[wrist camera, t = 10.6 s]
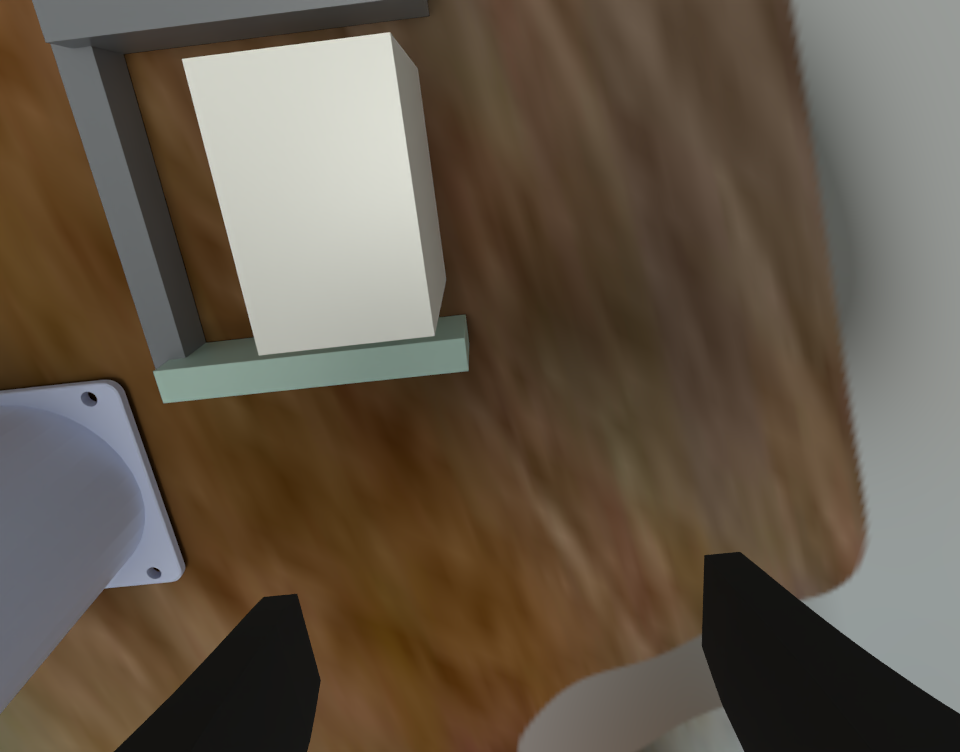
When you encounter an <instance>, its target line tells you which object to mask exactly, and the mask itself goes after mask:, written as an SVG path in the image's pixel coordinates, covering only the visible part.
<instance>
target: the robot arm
mask: <svg viewBox="0 0 960 752" xmlns="http://www.w3.org/2000/svg"><path fill="white" fill-rule="evenodd" d="M88 392H91V393H93V394H94V395H95V396H96V397H97V402H96V401H93V400H92V399H90V397H89V396H88ZM153 567H154V568H157V569H159V570H160V572H158V571H156V570H154V569H153ZM184 571H185V563H184V560H183V558H182V555H181V552H180V549H179V546H178V543H177V540H176V537H175V535H174V532H173V529H172V526H171V523H170V520H169V517H168V515H167V512H166V509H165V506H164V503H163V500H162V497H161V494H160V492H159V489H158V486H157V483H156V480H155V477H154V474H153V471H152V469H151V466H150V463H149V460H148V457H147V454H146V451H145V448H144V446H143V443H142V440H141V437H140V434H139V431H138V428H137V426H136V423H135V420H134V417H133V414H132V411H131V408H130V405H129V403H128V400H127V397H126V394H125V391H124V390H123V388H122V386H120V385H119V384H118V383H117V382H115V381H112V380H96V381H86V382H77V383H68V384H58V385H49V386H40V387H30V388H21V389H12V390H2V391H0V714H1V713H2V711H3V710H4V709H5V708H6V707H7V705H8V704H9V703H10V702H11V700H12V699H13V698H14V697H15V696H16V694H17V693H18V692H19V691H20V690H21V688H22V687H23V686H24V685H25V684H26V682H27V681H28V680H29V679H30V678H31V676H32V675H33V674H34V673H35V672H36V670H37V669H38V668H39V667H40V665H41V664H42V663H43V662H44V661H45V659H46V658H47V657H48V656H49V655H50V653H51V652H52V651H53V650H54V649H55V647H56V646H57V645H58V644H59V643H60V641H61V640H62V639H63V638H64V637H65V635H66V634H67V633H68V632H69V630H70V629H71V628H72V627H73V626H74V624H75V623H76V622H77V621H78V620H79V618H80V617H81V616H82V615H83V614H84V612H85V611H86V610H87V609H88V608H89V606H90V605H91V604H92V603H93V602H94V600H95V599H96V598H97V597H98V595H99V594H100V593H101V592H102V591H103V589H104V588H114V587H125V586H135V585H145V584H156V583H166V582H174V581H177V580H178V579H179V578H180V577H181V576H182V574H183V573H184ZM702 648H703V651H704V654H705V657H706V660H707V663H708V665H709V669H710V671H711V674H712V677H713V680H714V683H715V686H716V688H717V691H718V694H719V697H720V700H721V702H722V705H723V707H724V709H725V712H726V714H727V716H728V718H729V720H730V722H731V724H732V726H733V729H734V731H735V733H736V735H737V737H738V739H739V741H740V743H741V745H742V747H743V750H744V752H960V714H959V713H958V712H956V711H954V710H953V709H951V708H950V707H948V706H946V705H945V704H943V703H942V702H940V701H938V700H937V699H935V698H934V697H932V696H931V695H929V694H928V693H926V692H925V691H923V690H922V689H920V688H919V687H917V686H916V685H914V684H913V683H911V682H910V681H908V680H907V679H906V678H904V677H903V676H901V675H900V674H898V673H897V672H895V671H894V670H892V669H891V668H889V667H888V666H887V665H885V664H884V663H882V662H881V661H879V660H878V659H877V658H875V657H874V656H872V655H871V654H870V653H868V652H867V651H866V650H864V649H863V648H861V647H860V646H859V645H857V644H856V643H855V642H853V641H852V640H850V639H849V638H848V637H846V636H845V635H844V634H842V633H841V632H840V631H839V630H837V629H836V628H835V627H833V626H832V625H831V624H829V623H828V622H827V621H825V620H824V619H823V618H822V617H820V616H819V615H818V614H816V613H815V612H814V611H812V610H811V609H810V608H809V607H808V606H806V605H805V604H804V603H802V602H801V601H800V600H799V599H797V598H796V597H795V596H794V595H792V594H791V593H790V592H789V591H788V590H786V589H785V588H784V587H783V586H781V585H780V584H779V583H778V582H776V581H775V580H774V579H773V578H772V577H770V576H769V575H768V574H767V573H765V572H764V571H763V570H762V569H761V568H759V567H758V566H757V565H756V564H754V563H753V562H752V561H751V560H749V559H748V558H747V557H746V556H744V555H743V554H742V553H741V552H734V553H723V554H713V555H704V589H703V624H702ZM320 681H321V680H320V676H319V673H318V669H317V665H316V662H315V658H314V654H313V651H312V647H311V643H310V640H309V636H308V632H307V629H306V625H305V621H304V618H303V614H302V610H301V607H300V603H299V599H298V596H297V594H291V595H281V596H270V597H263V598H262V599H261V600H260V601H259V602H258V603H257V604H256V605H255V606H254V607H253V609H252V610H251V611H250V612H249V613H248V614H247V615H246V616H245V617H244V618H243V619H242V620H241V621H240V623H239V624H238V625H237V626H236V627H235V628H234V629H233V630H232V631H231V632H230V633H229V635H228V636H227V637H226V638H225V639H224V640H223V641H222V642H221V643H220V644H219V645H218V647H217V648H216V649H215V650H214V651H213V652H212V653H211V654H210V655H209V656H208V657H207V658H206V659H205V660H204V662H203V663H202V664H201V665H200V666H199V667H198V668H197V669H196V670H195V671H194V672H193V673H192V674H191V675H190V676H189V677H188V678H187V680H186V681H185V682H184V683H183V684H182V685H181V686H180V687H179V688H178V689H177V690H176V691H175V692H174V693H173V694H172V695H171V696H170V697H169V698H168V699H167V700H166V701H165V702H164V703H163V704H162V705H161V706H160V707H159V708H158V709H157V710H156V711H155V712H154V713H153V714H152V715H151V716H150V717H149V718H148V719H147V720H146V721H145V722H144V723H143V724H142V725H141V726H140V727H139V728H138V729H137V730H136V731H135V732H134V733H133V734H132V735H131V736H130V737H129V738H128V739H127V740H125V741H124V742H123V743H122V744H121V745H120V746H119V747H118V748H117V749H116V750H115V751H114V752H307V750H308V746H309V742H310V738H311V733H312V727H313V722H314V717H315V711H316V705H317V699H318V693H319V687H320Z"/></svg>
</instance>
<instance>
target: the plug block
mask: <svg viewBox="0 0 960 752" xmlns="http://www.w3.org/2000/svg"><path fill="white" fill-rule="evenodd" d="M182 61H183V65H184V69H185V73H186V77H187V81H188V84H189V88H190V92H191V96H192V100H193V104H194V108H195V112H196V115H197V119H198V123H199V127H200V131H201V135H202V139H203V142H204V146H205V150H206V154H207V158H208V162H209V166H210V169H211V173H212V177H213V181H214V185H215V189H216V193H217V196H218V200H219V204H220V208H221V212H222V216H223V220H224V223H225V227H226V231H227V235H228V239H229V243H230V247H231V250H232V254H233V258H234V262H235V266H236V270H237V274H238V277H239V281H240V285H241V289H242V293H243V297H244V301H245V304H246V308H247V312H248V316H249V320H250V324H251V328H252V331H253V335H254V339H255V343H256V347H257V351H258V355H259V356H260V355H268V354H277V353H286V352H295V351H304V350H313V349H322V348H331V347H340V346H349V345H358V344H367V343H376V342H385V341H394V340H403V339H412V338H421V337H430V336H435V332H436V327H437V322H438V317H439V313H440V308H441V303H442V298H443V293H444V289H445V284H446V274H445V266H444V259H443V251H442V244H441V237H440V229H439V222H438V214H437V207H436V200H435V192H434V185H433V177H432V170H431V163H430V155H429V148H428V140H427V133H426V126H425V118H424V111H423V103H422V96H421V89H420V81H419V74H418V68H417V67H416V66H415V64H414V63H413V62H412V60H411V59H410V58H409V56H408V55H407V54H406V52H405V51H404V50H403V49H402V47H401V46H400V45H399V43H398V42H397V41H396V39H395V38H394V37H393V35H392V34H391V33H390V32H388V33H380V34H373V35H365V36H357V37H349V38H342V39H334V40H326V41H318V42H310V43H303V44H295V45H287V46H279V47H272V48H264V49H256V50H248V51H240V52H233V53H225V54H217V55H209V56H201V57H194V58H186V59H182Z"/></svg>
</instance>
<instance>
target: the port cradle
mask: <svg viewBox="0 0 960 752" xmlns="http://www.w3.org/2000/svg"><path fill="white" fill-rule="evenodd" d="M32 1H33V4H34V8H35V11H36V14H37V17H38V20H39V23H40V26H41V29H42V32H43V35H44V38H45V41H46V43H50V44H51V47H52V50H53V53H54V56H55V59H56V62H57V66H58V69H59V72H60V75H61V78H62V81H63V84H64V87H65V90H66V93H67V96H68V100H69V103H70V106H71V109H72V112H73V115H74V118H75V121H76V124H77V127H78V130H79V134H80V137H81V140H82V143H83V146H84V149H85V152H86V155H87V158H88V161H89V164H90V168H91V171H92V174H93V177H94V180H95V183H96V186H97V189H98V192H99V195H100V198H101V202H102V205H103V208H104V211H105V214H106V217H107V220H108V223H109V226H110V229H111V232H112V236H113V239H114V242H115V245H116V248H117V251H118V254H119V257H120V260H121V263H122V266H123V270H124V273H125V276H126V279H127V282H128V285H129V288H130V291H131V294H132V297H133V300H134V304H135V307H136V310H137V313H138V316H139V319H140V322H141V325H142V328H143V331H144V334H145V337H146V341H147V344H148V347H149V350H150V353H151V356H152V359H153V362H154V365H155V368H156V370H154V371H153V373H154V376H155V379H156V382H157V385H158V388H159V391H160V394H161V397H162V400H163V403H170V402H180V401H189V400H199V399H208V398H217V397H227V396H236V395H246V394H255V393H265V392H274V391H284V390H293V389H303V388H312V387H322V386H331V385H341V384H350V383H359V382H369V381H378V380H388V379H397V378H407V377H416V376H426V375H435V374H445V373H454V372H464V371H469V338H468V330H467V321H466V315H456V316H447V317H438V322H437V327H436V332H435V336H430V337H421V338H412V339H403V340H394V341H385V342H376V343H367V344H358V345H349V346H340V347H331V348H322V349H313V350H304V351H295V352H286V353H277V354H268V355H260V356H259V355H258V351H257V347H256V343H255V339H254V338H245V339H235V340H226V341H217V342H208V343H206V341H205V337H204V334H203V330H202V327H201V323H200V320H199V316H198V313H197V309H196V306H195V302H194V299H193V295H192V292H191V288H190V285H189V281H188V278H187V274H186V271H185V267H184V264H183V260H182V257H181V253H180V250H179V246H178V243H177V239H176V236H175V232H174V229H173V225H172V222H171V219H170V215H169V212H168V208H167V205H166V201H165V198H164V194H163V191H162V187H161V184H160V180H159V177H158V173H157V170H156V166H155V163H154V159H153V156H152V152H151V149H150V145H149V142H148V138H147V135H146V131H145V128H144V124H143V121H142V117H141V114H140V110H139V107H138V103H137V100H136V96H135V93H134V89H133V86H132V82H131V79H130V76H129V72H128V69H127V65H126V62H125V58H124V55H123V54H128V53H136V52H144V51H152V50H160V49H168V48H176V47H184V46H192V45H200V44H208V43H216V42H224V41H233V40H241V39H249V38H257V37H265V36H273V35H281V34H289V33H297V32H305V31H313V30H321V29H329V28H337V27H345V26H353V25H361V24H369V23H377V22H385V21H393V20H401V19H409V18H417V17H425V16H429V10H428V2H427V0H32Z"/></svg>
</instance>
